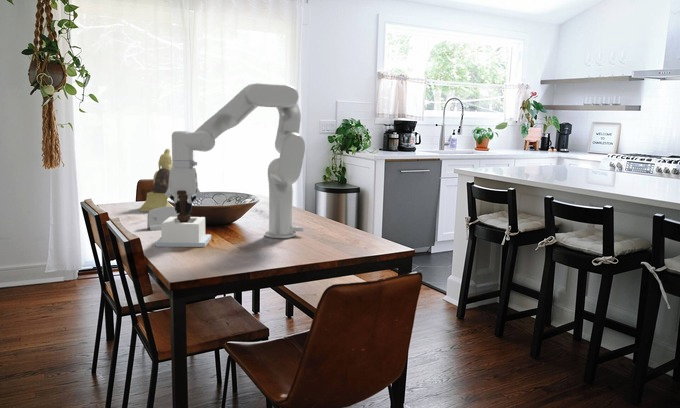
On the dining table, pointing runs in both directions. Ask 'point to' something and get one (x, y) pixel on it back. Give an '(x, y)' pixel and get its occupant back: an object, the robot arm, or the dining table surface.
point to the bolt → (183, 207)
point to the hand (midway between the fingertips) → (183, 212)
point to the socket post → (183, 233)
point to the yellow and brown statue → (159, 185)
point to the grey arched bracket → (159, 217)
